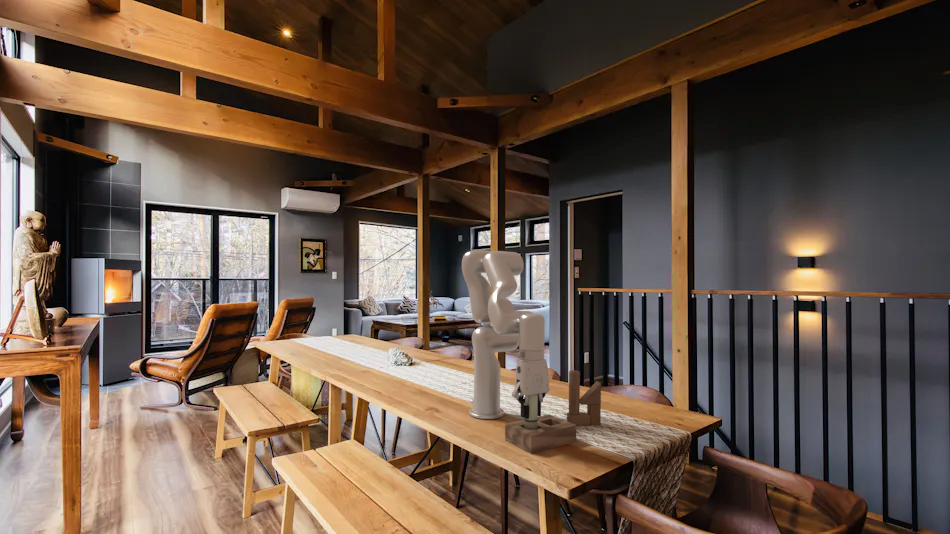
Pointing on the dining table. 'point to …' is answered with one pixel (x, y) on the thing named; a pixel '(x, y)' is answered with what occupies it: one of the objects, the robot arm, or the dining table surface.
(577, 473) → the dining table surface
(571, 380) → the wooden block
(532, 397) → the peg
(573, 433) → the board
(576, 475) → the dining table surface
